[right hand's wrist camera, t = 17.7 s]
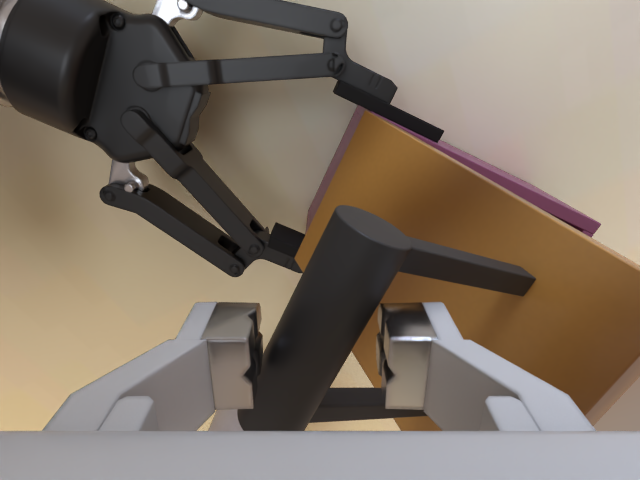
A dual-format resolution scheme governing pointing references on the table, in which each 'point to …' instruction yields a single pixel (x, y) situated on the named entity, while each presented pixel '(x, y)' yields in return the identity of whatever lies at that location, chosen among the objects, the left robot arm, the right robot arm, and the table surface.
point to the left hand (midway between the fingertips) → (395, 206)
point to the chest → (481, 167)
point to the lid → (442, 286)
